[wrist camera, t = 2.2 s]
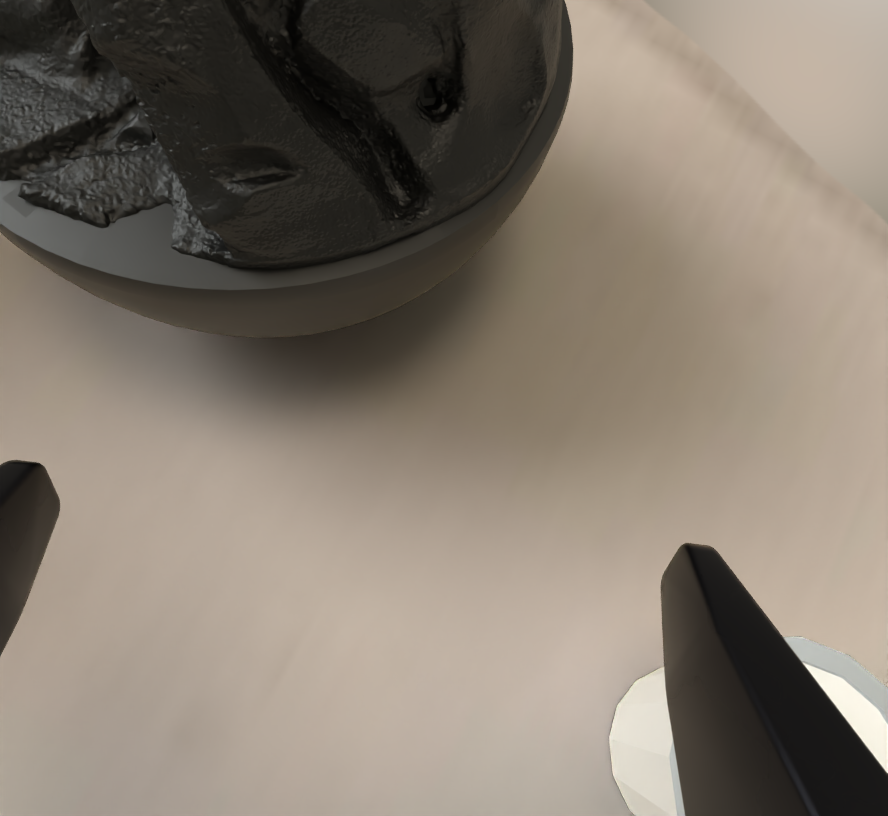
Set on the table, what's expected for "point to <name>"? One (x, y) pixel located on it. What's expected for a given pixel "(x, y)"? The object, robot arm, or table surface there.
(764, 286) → the table surface
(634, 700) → the shot glass
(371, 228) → the coal bowl
